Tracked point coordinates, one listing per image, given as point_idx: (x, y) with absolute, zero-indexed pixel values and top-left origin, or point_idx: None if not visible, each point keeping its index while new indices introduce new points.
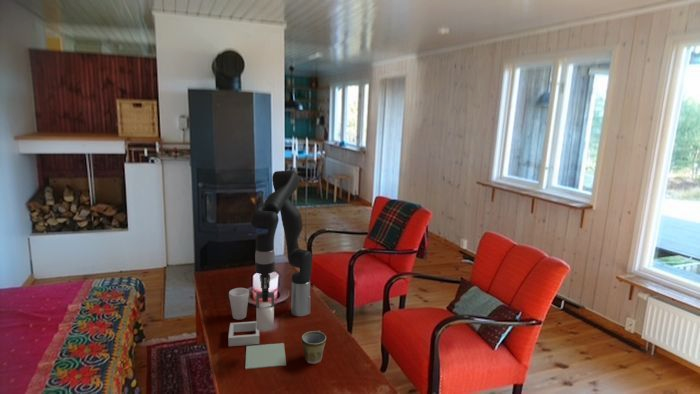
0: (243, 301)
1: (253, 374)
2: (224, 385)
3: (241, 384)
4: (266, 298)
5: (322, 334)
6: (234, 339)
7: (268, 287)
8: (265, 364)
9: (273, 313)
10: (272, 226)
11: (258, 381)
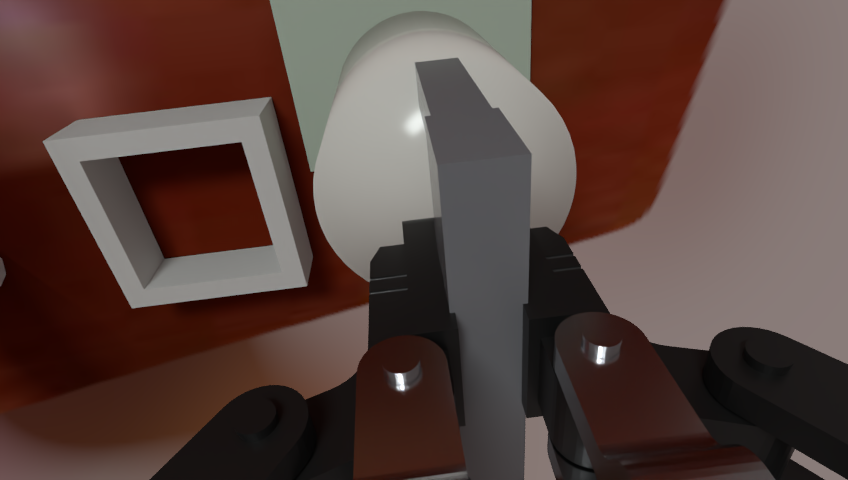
0: None
1: (581, 93)
2: (632, 213)
3: (648, 142)
4: (574, 266)
5: None
6: (301, 251)
7: (745, 475)
8: (510, 32)
9: (466, 42)
10: None
11: (650, 58)
